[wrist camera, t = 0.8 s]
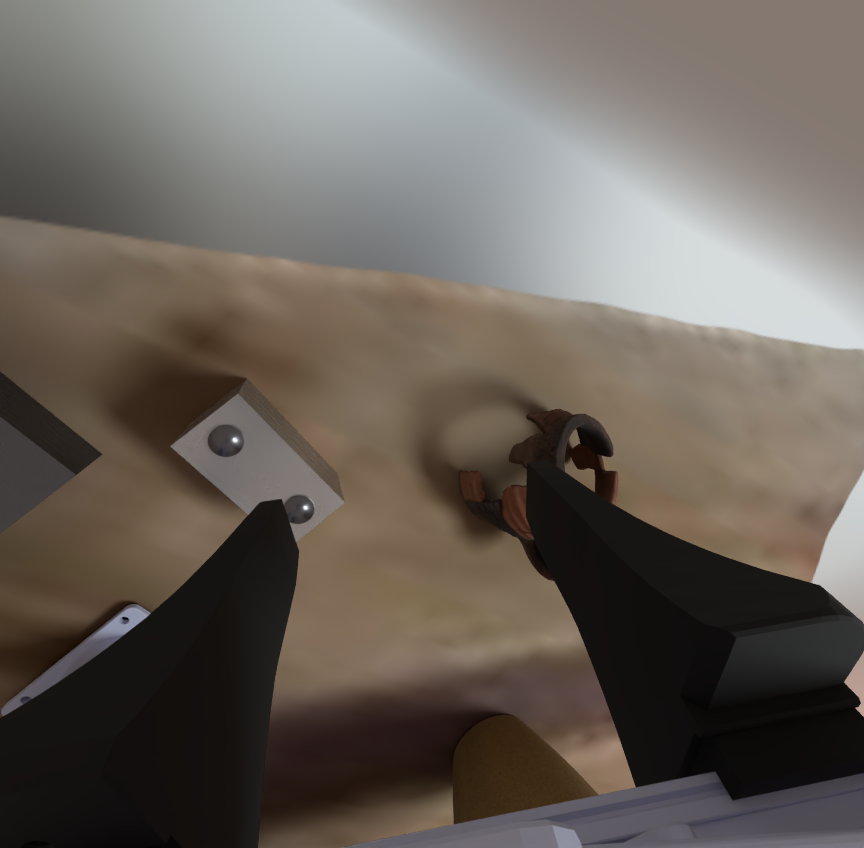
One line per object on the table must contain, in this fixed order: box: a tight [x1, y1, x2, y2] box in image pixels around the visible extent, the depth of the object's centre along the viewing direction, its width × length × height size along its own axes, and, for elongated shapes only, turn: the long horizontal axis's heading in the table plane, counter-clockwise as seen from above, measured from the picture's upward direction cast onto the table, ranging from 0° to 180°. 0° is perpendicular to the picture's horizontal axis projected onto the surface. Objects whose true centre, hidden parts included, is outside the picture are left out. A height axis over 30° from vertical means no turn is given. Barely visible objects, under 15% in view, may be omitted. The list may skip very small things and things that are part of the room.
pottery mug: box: [459, 409, 618, 581], centre depth 30 cm, size 12×10×8 cm
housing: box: [170, 379, 345, 542], centre depth 24 cm, size 8×4×5 cm, turn 36°
